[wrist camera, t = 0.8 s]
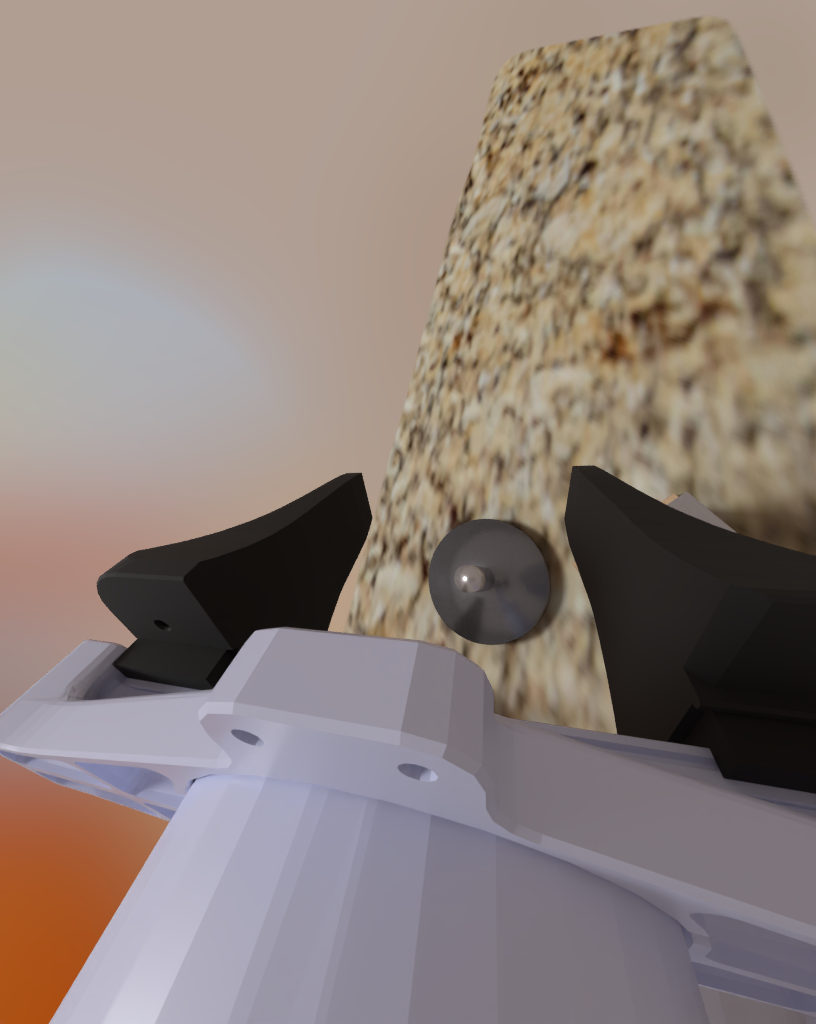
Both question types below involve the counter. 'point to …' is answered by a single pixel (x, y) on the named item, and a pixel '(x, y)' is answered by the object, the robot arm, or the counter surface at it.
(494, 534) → the hub
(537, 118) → the counter surface
